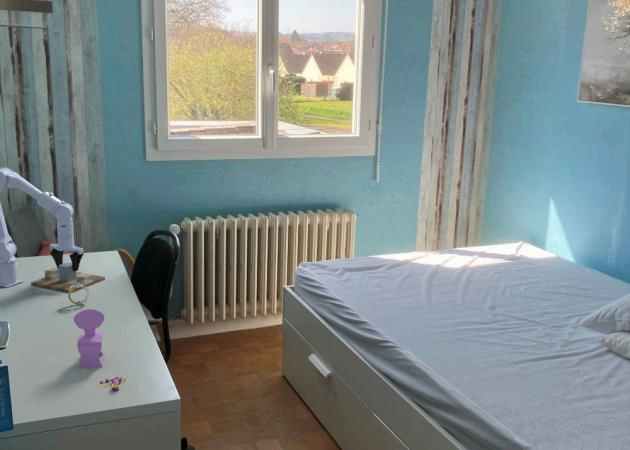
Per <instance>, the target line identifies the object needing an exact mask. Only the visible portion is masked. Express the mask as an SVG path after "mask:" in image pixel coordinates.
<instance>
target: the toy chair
mask: <svg viewBox="0 0 630 450" xmlns="http://www.w3.org/2000/svg"><path fill="white" fill-rule="evenodd" d="M104 321H105V314H104V313H102V312H101V311H100V310H97V309H93V308H87V309H83V310H80V311H79V312H78V313H77V314H75V315H74V317H73V322H74V324H75V325H76V326H77V327H78V328H79V329H81V330H83V332H84V334H78V337H77V342H76V343H77V345H76V346H77V350H78V351H77V352H78V353H79V357H80V358H81V359H80V361H81V362H80V364H79V367H78V369H79V370H80V369H81V370H83V369H84V370H85V369H91V368H93V369H94V368H102V367H103V364H102V362H101V360H100V356H104V354H103V353H104V352H103V351H102V348H103V346H102V345H103V344H102V342H103V341H102V339H103V333H101V332H100V333H99V332H97V333H96V329H97V328H99V327H101V325H102V324H103V322H104Z"/></svg>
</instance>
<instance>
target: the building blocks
mask: <svg viewBox="0 0 630 450" xmlns="http://www.w3.org/2000/svg"><path fill="white" fill-rule="evenodd" d="M116 380H117V381H116ZM99 382H100V384H101V386H102V387H104V388H105V387H108V386H111V391H112V392H117V391H120V385H121V384H122V383H125V382H126V378H125V377H124V376H122V375H121V376H116V377H114V378H111V377H110V378H109V377H106V378H105V381H99ZM104 382H105V383H107V384H105V383H104Z"/></svg>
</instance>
